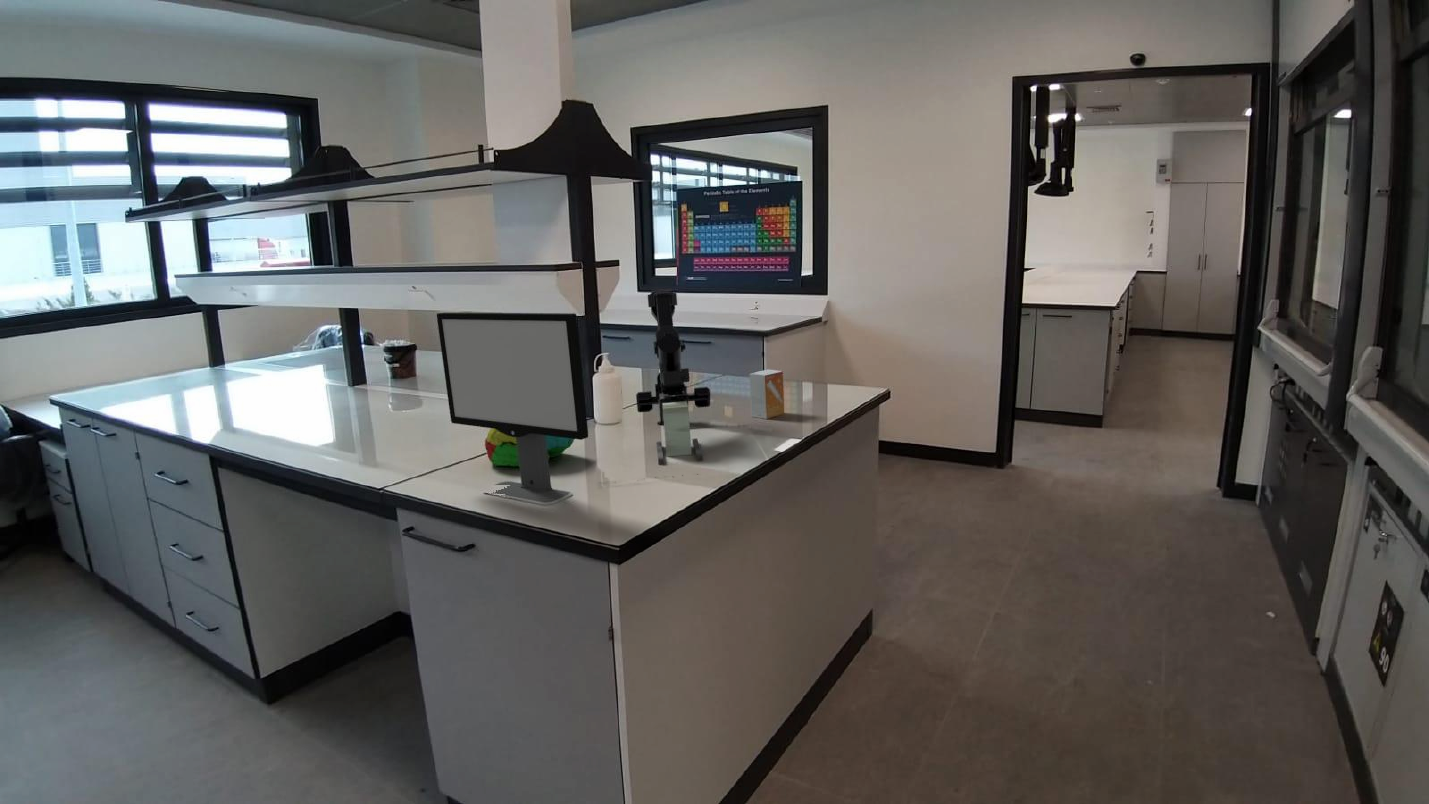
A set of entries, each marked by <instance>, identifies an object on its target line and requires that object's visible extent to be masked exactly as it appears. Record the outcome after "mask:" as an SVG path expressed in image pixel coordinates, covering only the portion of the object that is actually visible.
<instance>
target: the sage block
mask: <svg viewBox="0 0 1429 804" xmlns="http://www.w3.org/2000/svg"><path fill="white" fill-rule="evenodd" d="M662 405H663V418H664V425H663V427H664V428H663V429H664V440H665V441H664V443H665V452H666V453H665V454H666V457H679V456H689V455H690V456H691V455H692V443H691V441H692V440H691V439H692V438H691V427H690V415H689V414H690V412H689V403H688V404H687V401H684V402H672V403H662Z"/></svg>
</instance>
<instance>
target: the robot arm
mask: <svg viewBox="0 0 1429 804" xmlns="http://www.w3.org/2000/svg"><path fill="white" fill-rule="evenodd" d="M677 295H678V294H677V292H674V291H673V290H672V289H665V290H651V293H649V294H647V303H648V304H647V305H648V306H647V307H648V308H650V310H651V311H650V313H651V316H652V317H653V318H654V320H655V321H656V322H657V323H656V324H657V331H656V333H655V341H653V352H654V353H653V354H654V355H655V356H656V358H657V359H658V366H659V367H658V368H659V372H658V374H657V377H656V383H655V384H654V389H655V396H653V394H652V390H650V391H649V390H648V391H637V393H636V395H635V397H636V408H637V412H638V413H647V412H649V413H650V412H651V411H652V410H653V408H654V406H653V405H656V406H657V405H658V407H659V408H658V409H659V417H660V418H659V420H660V421H657V423H656V424H657V425H663V426H664V418H663V405H662V403H672V402H684V401H687V404H688V405H689V402H694V407H696V408H698V409H700V408H708V407H710V406H711V389H710V388H709V386H699V387H694V388H693V392H688V389H687V388H688V387H687V386H686V385H685V383H689V382H690V370H689V368H682V364H681V359H682V353H684V350H685V351H686V344H685V343H684V342H683V340H682V339H680V335H679V330H676V328H674V321H673V317H674V314H675V312H676V306H678V296H677Z"/></svg>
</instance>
